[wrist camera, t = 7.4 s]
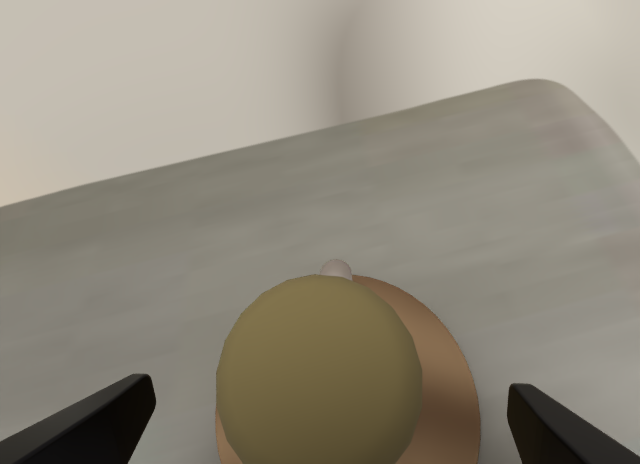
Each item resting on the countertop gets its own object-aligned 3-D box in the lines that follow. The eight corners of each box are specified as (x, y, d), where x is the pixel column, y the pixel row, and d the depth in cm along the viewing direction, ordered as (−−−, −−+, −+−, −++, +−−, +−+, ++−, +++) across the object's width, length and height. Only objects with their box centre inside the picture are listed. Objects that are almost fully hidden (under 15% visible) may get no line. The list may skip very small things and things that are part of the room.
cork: (261, 415, 17) (119, 400, 7) (329, 315, 19) (286, 205, 10) (364, 507, 15) (348, 656, 5) (429, 382, 17) (503, 323, 7)
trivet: (504, 578, 14) (548, 629, 10) (200, 553, 15) (151, 590, 12) (450, 277, 20) (466, 247, 17) (241, 283, 22) (216, 256, 18)
